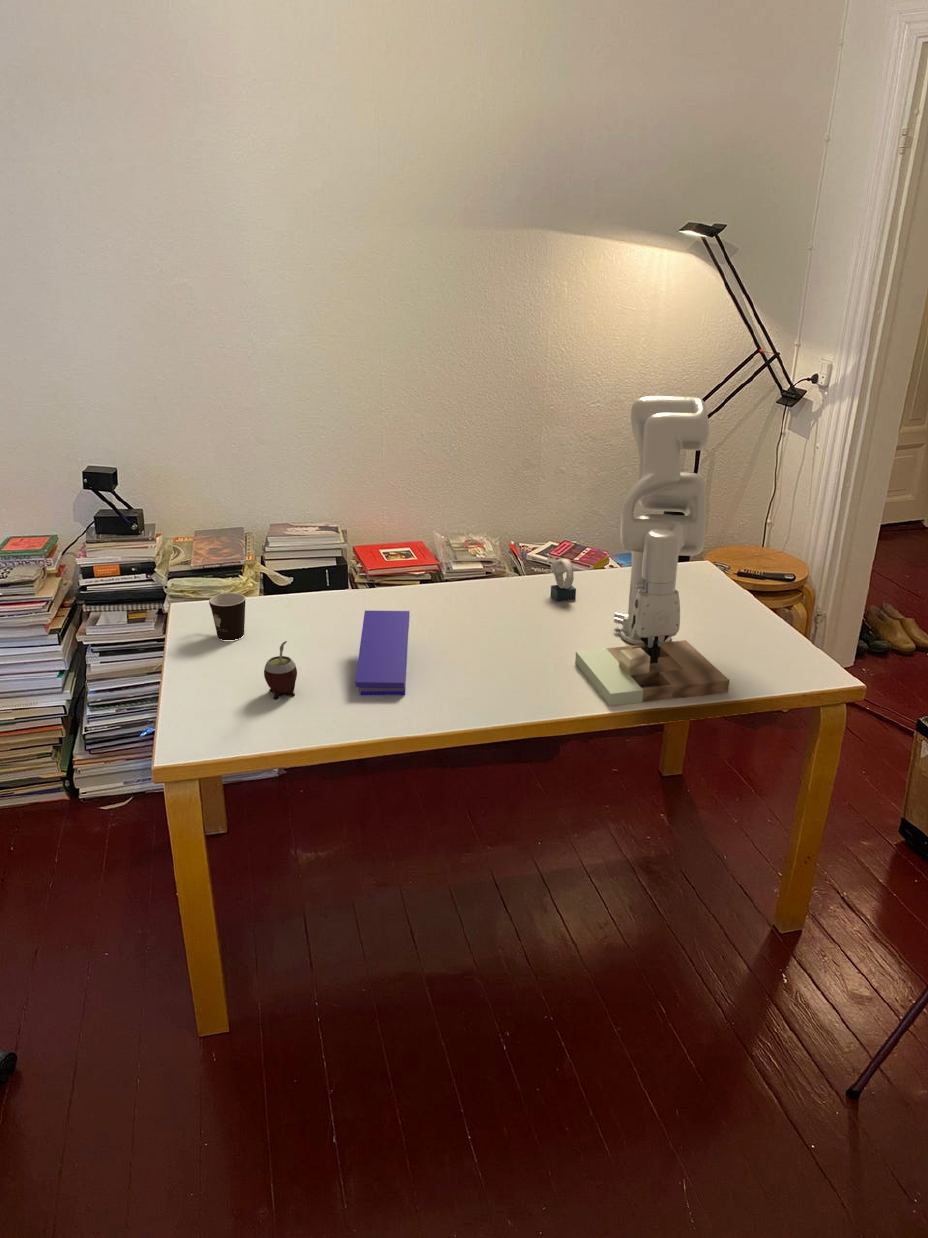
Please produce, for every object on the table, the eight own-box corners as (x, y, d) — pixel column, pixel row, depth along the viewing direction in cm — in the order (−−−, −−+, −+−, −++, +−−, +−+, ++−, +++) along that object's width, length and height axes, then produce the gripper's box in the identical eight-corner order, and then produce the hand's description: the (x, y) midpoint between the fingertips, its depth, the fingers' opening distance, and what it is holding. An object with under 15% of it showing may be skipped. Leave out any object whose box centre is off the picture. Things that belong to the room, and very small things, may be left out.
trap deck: (642, 702, 217) (643, 690, 216) (605, 659, 237) (605, 648, 236) (728, 692, 222) (729, 680, 221) (684, 651, 242) (685, 640, 240)
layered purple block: (410, 644, 245) (409, 607, 241) (408, 697, 219) (407, 657, 216) (363, 644, 245) (361, 607, 241) (355, 698, 219) (354, 657, 215)
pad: (609, 706, 216) (610, 693, 214) (575, 662, 235) (575, 651, 234) (642, 702, 217) (643, 690, 216) (605, 659, 237) (605, 648, 236)
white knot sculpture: (565, 591, 277) (567, 554, 273) (578, 601, 270) (580, 563, 266) (547, 593, 276) (549, 556, 271) (559, 604, 269) (561, 565, 264)
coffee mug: (251, 640, 246) (248, 603, 242) (216, 645, 243) (212, 607, 239) (243, 623, 256) (239, 586, 252) (208, 627, 253) (205, 591, 249)
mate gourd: (276, 684, 224) (271, 622, 218) (307, 690, 222) (303, 628, 216) (258, 698, 218) (253, 635, 212) (290, 705, 215) (285, 641, 209)
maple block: (628, 675, 222) (630, 659, 221) (618, 666, 227) (620, 650, 225) (648, 672, 224) (650, 656, 222) (638, 663, 228) (640, 647, 227)
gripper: (633, 594, 214) (627, 671, 222) (696, 588, 218) (689, 664, 225) (619, 582, 221) (614, 657, 228) (681, 576, 225) (674, 651, 232)
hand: (651, 660), depth 227 cm, fingers closed
